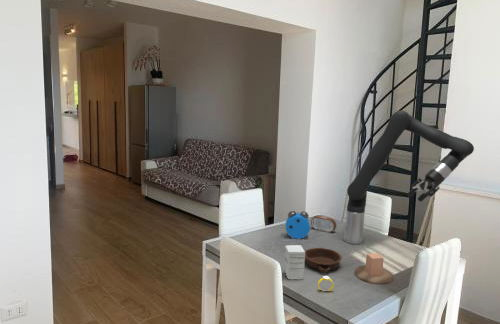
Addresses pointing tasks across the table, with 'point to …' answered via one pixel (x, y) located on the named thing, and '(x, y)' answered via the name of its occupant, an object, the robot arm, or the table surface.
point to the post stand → (364, 276)
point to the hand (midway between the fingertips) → (413, 198)
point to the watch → (326, 280)
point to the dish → (322, 259)
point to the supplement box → (294, 261)
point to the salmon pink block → (374, 264)
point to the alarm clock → (297, 224)
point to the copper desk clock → (323, 223)
